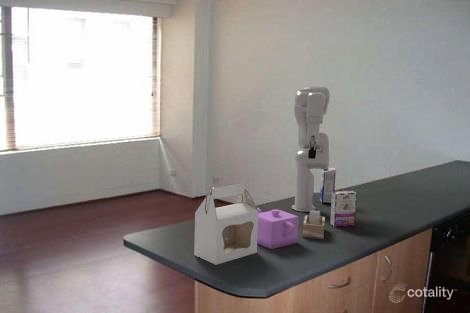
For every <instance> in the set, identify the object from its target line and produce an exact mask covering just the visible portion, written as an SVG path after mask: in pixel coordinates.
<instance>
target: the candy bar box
mask: <svg viewBox="0 0 470 313" xmlns="http://www.w3.org/2000/svg"><path fill="white" fill-rule="evenodd" d="M357 198H358V193H357V192H356V191H354V190H343V191H342V190H341V191H339V190H338V191H335V192H332V200H331V204H330V205H331V206H330V220H329V221H330V222H329V223H330V226H332V225H333V227H334V228H337V226H338V228H341V227H340V226H343V227H354V226H356V215H357Z"/></svg>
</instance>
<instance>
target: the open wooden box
mask: <svg viewBox="0 0 470 313" xmlns="http://www.w3.org/2000/svg"><path fill="white" fill-rule="evenodd" d="M325 219H326V217H325V216H320V220H319V225H313V224H309V214H308V215H305V216H304V220H303V223H302V224H303V226H302V227H303V228H302V238H303V237H304V238H305V239H307V238H308V239H315V240H316V239H318V240H324V234H325Z"/></svg>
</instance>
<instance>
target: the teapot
mask: <svg viewBox="0 0 470 313" xmlns="http://www.w3.org/2000/svg"><path fill="white" fill-rule="evenodd" d="M257 209H258V234H257V245H260V246H262V247H265V248H267V249H269V250H273V249H277V248H281V247H286V246H289V245H294V244H297V243H298V238H299V236H298V235H299V219H300V218H299V216H298V215H295V214H293V213H289V212H286V211H284V210H281V209H276V208H275V209H271V210H268V211H264V212H263V211H262V210H261V209H260V208H259V207H257ZM293 243H294V244H293Z"/></svg>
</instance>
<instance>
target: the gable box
mask: <svg viewBox="0 0 470 313" xmlns="http://www.w3.org/2000/svg"><path fill="white" fill-rule="evenodd" d="M208 191H209V194H208V195H206V196H205V198H204V199H203V201H202V202H201V203H200V205H199V206H198V208H197V209H196V211H195V212H194V244H193V245H194V250H193V251H194V253H193V254H194V256H195V257H197V258H199V257H200V259H201V260H205V261H206V262H208V263H211V264H213V265H215V266H218V265H220V264H224V263H227V262H230V261H234V260H236V259H240V258H244V257H246V256H251V255H254V254H257V253H258V251H257V250H258V243H257V234H258V209H257V208H258V207H257V206H256V203H255V202H254V200H253V198H252V196H251V195H250V193H249V189H245V186H244V183H243V182H239V183H238V182H237V183H232V184H226V185H220V186H214V187H212V188H211V189H209V190H208ZM237 195H238V198H237V201H236V203H233V204H228V205H225V206H224V205H223V206H220V207H216V205H215V204H216V203H215V200H216V199H222V198H226V197H232V196H237ZM226 227H228V231H227V232H228V236H227V238H225V239H224V238H223V231H224V229H225V228H226Z"/></svg>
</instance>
